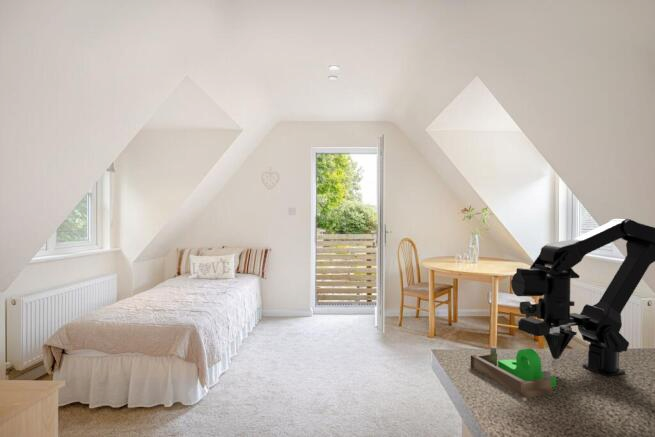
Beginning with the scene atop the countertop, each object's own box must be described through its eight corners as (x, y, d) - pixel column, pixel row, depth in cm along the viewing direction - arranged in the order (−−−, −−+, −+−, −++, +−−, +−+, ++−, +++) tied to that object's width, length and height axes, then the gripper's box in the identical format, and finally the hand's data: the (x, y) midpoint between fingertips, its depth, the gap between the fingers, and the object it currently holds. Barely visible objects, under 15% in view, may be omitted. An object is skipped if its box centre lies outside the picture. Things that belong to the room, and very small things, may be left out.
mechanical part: (555, 387, 88) (556, 352, 88) (533, 389, 87) (533, 354, 86) (518, 366, 100) (518, 335, 100) (498, 368, 98) (498, 337, 98)
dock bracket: (493, 363, 101) (493, 346, 101) (551, 393, 84) (552, 373, 84) (470, 366, 99) (470, 349, 99) (525, 398, 82) (526, 377, 82)
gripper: (556, 287, 106) (555, 343, 107) (501, 291, 100) (501, 351, 101) (596, 295, 96) (595, 358, 96) (537, 301, 90) (536, 367, 90)
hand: (555, 358), depth 96 cm, fingers closed
